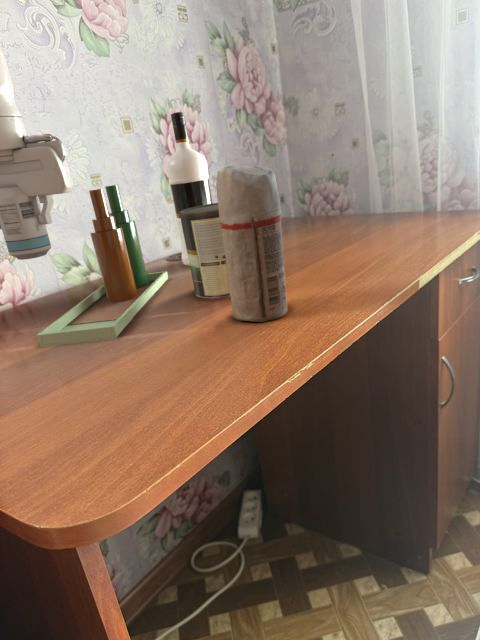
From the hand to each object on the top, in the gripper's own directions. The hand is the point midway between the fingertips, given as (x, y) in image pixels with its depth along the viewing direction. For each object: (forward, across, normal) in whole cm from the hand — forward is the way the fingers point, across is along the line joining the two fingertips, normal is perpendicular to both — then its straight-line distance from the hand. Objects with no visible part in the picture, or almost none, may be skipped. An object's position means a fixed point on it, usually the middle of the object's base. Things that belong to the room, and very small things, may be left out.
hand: (23, 226), depth 86 cm
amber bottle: (+14, -15, +2) cm, 21 cm away
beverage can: (+5, 0, 0) cm, 5 cm away
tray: (+14, -15, +6) cm, 22 cm away
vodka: (+14, -26, -22) cm, 37 cm away
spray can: (+14, -41, +18) cm, 47 cm away
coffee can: (+14, -34, +4) cm, 37 cm away
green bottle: (+14, -15, -6) cm, 21 cm away
